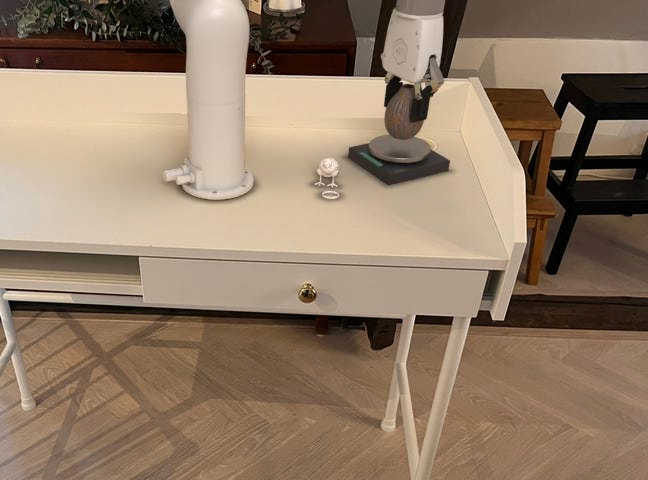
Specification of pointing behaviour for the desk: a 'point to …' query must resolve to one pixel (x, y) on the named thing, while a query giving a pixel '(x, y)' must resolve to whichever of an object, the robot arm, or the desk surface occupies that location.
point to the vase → (401, 114)
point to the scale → (397, 165)
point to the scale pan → (399, 149)
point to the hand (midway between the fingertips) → (404, 112)
